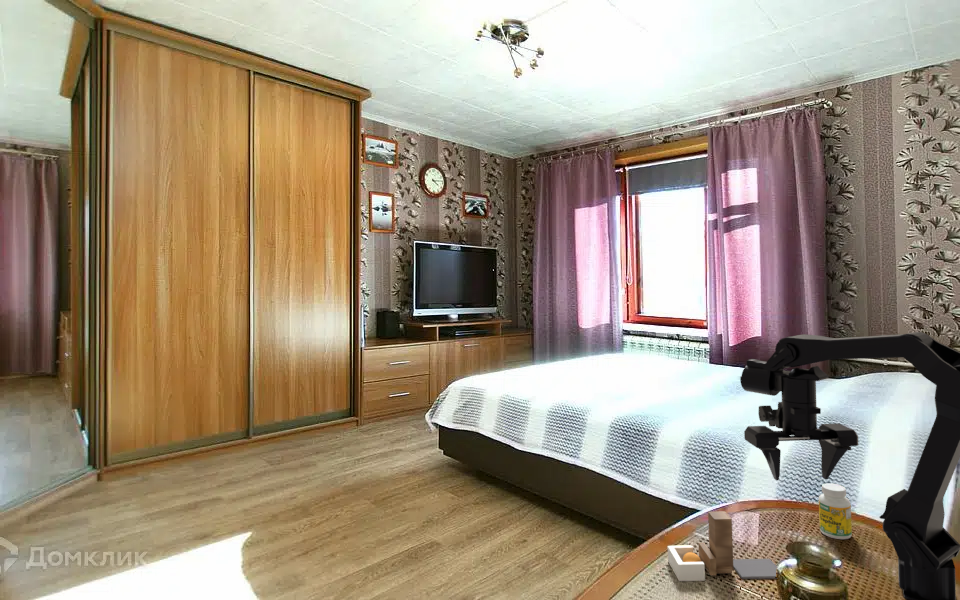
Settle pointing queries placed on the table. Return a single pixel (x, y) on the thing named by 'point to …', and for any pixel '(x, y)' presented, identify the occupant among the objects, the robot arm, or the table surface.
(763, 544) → the table surface
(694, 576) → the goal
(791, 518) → the table surface
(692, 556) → the ball
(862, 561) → the table surface
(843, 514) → the supplement bottle
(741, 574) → the grey flat plate
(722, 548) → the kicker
